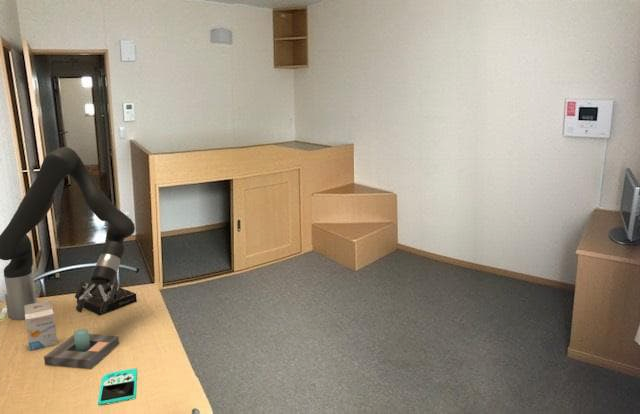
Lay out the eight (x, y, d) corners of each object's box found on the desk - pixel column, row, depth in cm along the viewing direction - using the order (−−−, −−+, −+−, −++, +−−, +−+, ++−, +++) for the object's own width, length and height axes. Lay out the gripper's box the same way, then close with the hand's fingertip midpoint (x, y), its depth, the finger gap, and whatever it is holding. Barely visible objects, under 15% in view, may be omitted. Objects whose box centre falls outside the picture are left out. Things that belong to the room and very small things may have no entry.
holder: (45, 364, 153) (43, 355, 152) (77, 340, 168) (76, 332, 168) (90, 368, 151) (89, 359, 150) (119, 343, 166) (118, 335, 165)
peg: (73, 356, 158) (70, 334, 156) (82, 350, 162) (79, 328, 160) (85, 357, 157) (83, 335, 155) (93, 351, 161) (91, 329, 160)
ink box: (29, 351, 162) (23, 310, 158) (28, 345, 166) (22, 305, 162) (57, 344, 166) (52, 304, 163) (56, 338, 170) (51, 299, 167)
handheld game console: (137, 371, 150) (137, 367, 150) (136, 400, 135) (136, 396, 135) (103, 377, 147) (102, 373, 147) (97, 407, 132) (97, 403, 132)
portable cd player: (113, 293, 211) (113, 284, 210) (136, 302, 201) (136, 293, 200) (77, 306, 198) (76, 297, 197) (99, 316, 188) (98, 307, 187)
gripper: (82, 263, 169) (65, 307, 160) (120, 265, 167) (103, 310, 158) (93, 272, 175) (76, 315, 167) (129, 274, 173) (114, 317, 165)
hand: (90, 312), depth 163 cm, fingers open, 8 cm apart
